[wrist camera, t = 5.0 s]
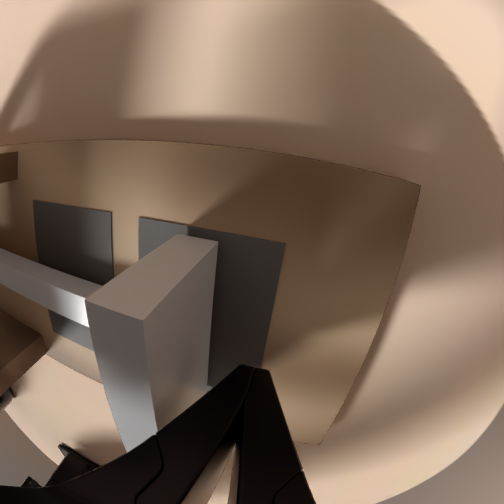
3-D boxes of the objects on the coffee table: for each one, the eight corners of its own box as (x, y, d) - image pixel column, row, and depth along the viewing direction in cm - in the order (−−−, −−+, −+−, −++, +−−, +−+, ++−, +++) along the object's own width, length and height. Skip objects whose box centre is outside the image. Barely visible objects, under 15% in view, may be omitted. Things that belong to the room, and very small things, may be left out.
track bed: (320, 428, 11) (319, 446, 10) (-23, 294, 15) (-32, 299, 14) (408, 181, 7) (421, 186, 6) (-41, 152, 11) (-52, 155, 10)
